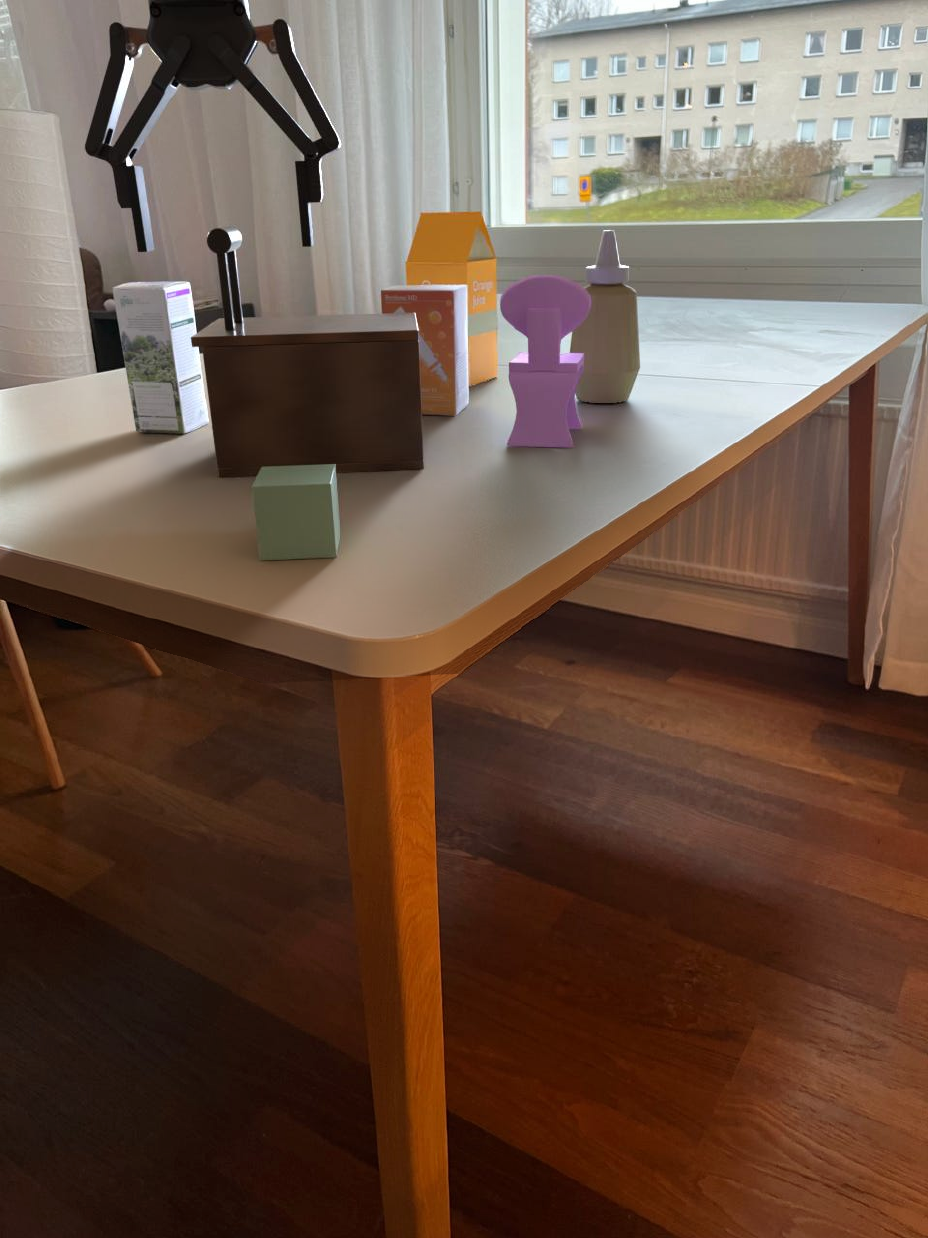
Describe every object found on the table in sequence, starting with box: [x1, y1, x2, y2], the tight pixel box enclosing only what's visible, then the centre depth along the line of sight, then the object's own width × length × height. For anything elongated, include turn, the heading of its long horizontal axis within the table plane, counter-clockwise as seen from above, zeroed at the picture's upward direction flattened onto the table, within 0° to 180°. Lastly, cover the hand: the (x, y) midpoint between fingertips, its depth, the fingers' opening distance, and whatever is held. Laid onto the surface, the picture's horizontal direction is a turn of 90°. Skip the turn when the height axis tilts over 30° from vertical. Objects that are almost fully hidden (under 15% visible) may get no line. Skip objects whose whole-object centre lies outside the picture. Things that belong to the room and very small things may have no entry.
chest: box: [201, 340, 425, 478], centre depth 87 cm, size 18×14×11 cm
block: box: [251, 464, 342, 562], centre depth 64 cm, size 5×5×5 cm
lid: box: [191, 226, 419, 348], centre depth 83 cm, size 18×14×9 cm
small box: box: [380, 284, 470, 417], centre depth 104 cm, size 8×6×13 cm
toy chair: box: [499, 274, 591, 449], centre depth 90 cm, size 8×9×15 cm
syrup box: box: [111, 281, 210, 435], centre depth 98 cm, size 6×6×14 cm
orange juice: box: [405, 211, 499, 387], centre depth 120 cm, size 8×9×20 cm
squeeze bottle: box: [569, 229, 641, 404], centre depth 106 cm, size 8×8×18 cm
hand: (227, 249), depth 81 cm, fingers open, 13 cm apart
